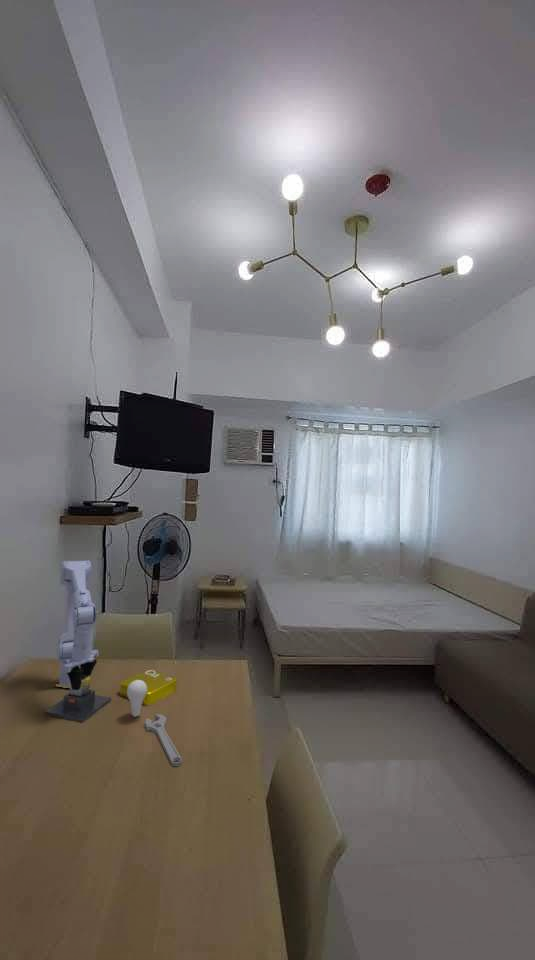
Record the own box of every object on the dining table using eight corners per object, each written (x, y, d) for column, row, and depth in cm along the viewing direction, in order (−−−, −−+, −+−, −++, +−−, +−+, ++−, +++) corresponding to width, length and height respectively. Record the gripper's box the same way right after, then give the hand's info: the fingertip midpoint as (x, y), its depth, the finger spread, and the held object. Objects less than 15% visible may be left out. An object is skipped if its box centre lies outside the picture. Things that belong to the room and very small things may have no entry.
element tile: (116, 695, 144) (117, 681, 144) (149, 679, 157) (150, 666, 157) (147, 707, 136) (148, 693, 136) (178, 690, 149) (179, 677, 149)
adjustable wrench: (183, 767, 107) (183, 760, 107) (158, 773, 105) (158, 766, 105) (164, 718, 130) (164, 712, 130) (142, 722, 127) (143, 716, 127)
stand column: (78, 698, 136) (79, 673, 137) (89, 700, 135) (91, 675, 136) (69, 704, 132) (70, 678, 133) (81, 706, 131) (82, 680, 132)
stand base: (75, 694, 142) (76, 679, 142) (111, 700, 139) (111, 686, 139) (44, 714, 129) (45, 698, 129) (82, 722, 125) (83, 705, 125)
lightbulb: (148, 712, 133) (150, 677, 133) (141, 722, 126) (143, 685, 127) (130, 710, 133) (132, 675, 134) (122, 720, 127) (124, 684, 128)
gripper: (77, 653, 127) (75, 698, 126) (107, 638, 141) (104, 678, 140) (58, 650, 128) (55, 694, 128) (89, 635, 142) (86, 675, 142)
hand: (80, 686), depth 134 cm, fingers closed on stand column, 4 cm apart
